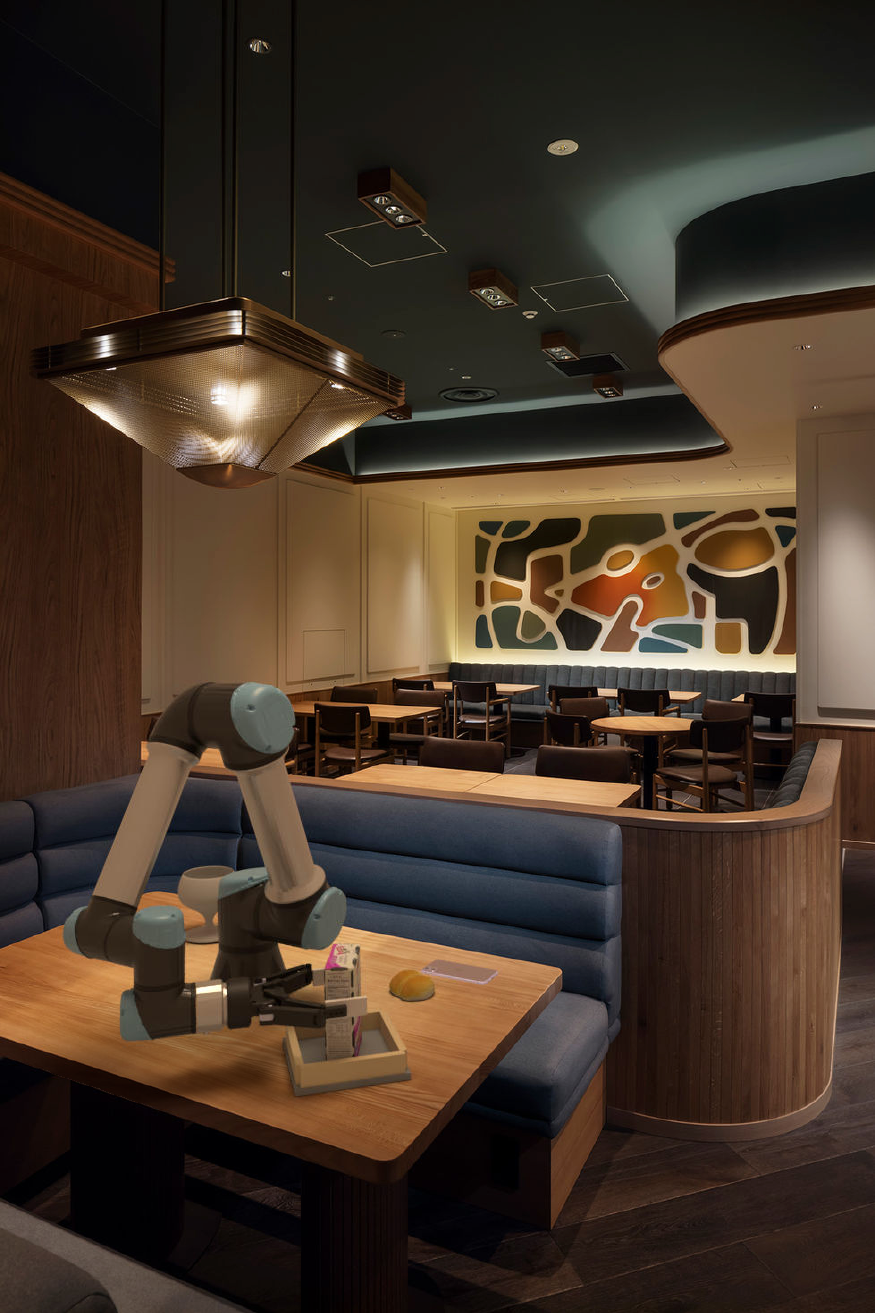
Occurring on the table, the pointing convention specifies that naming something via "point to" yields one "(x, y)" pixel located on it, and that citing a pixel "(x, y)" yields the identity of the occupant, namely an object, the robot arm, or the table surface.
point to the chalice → (202, 899)
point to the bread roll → (412, 986)
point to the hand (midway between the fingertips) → (358, 988)
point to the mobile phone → (460, 971)
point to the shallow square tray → (374, 1064)
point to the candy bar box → (340, 984)
